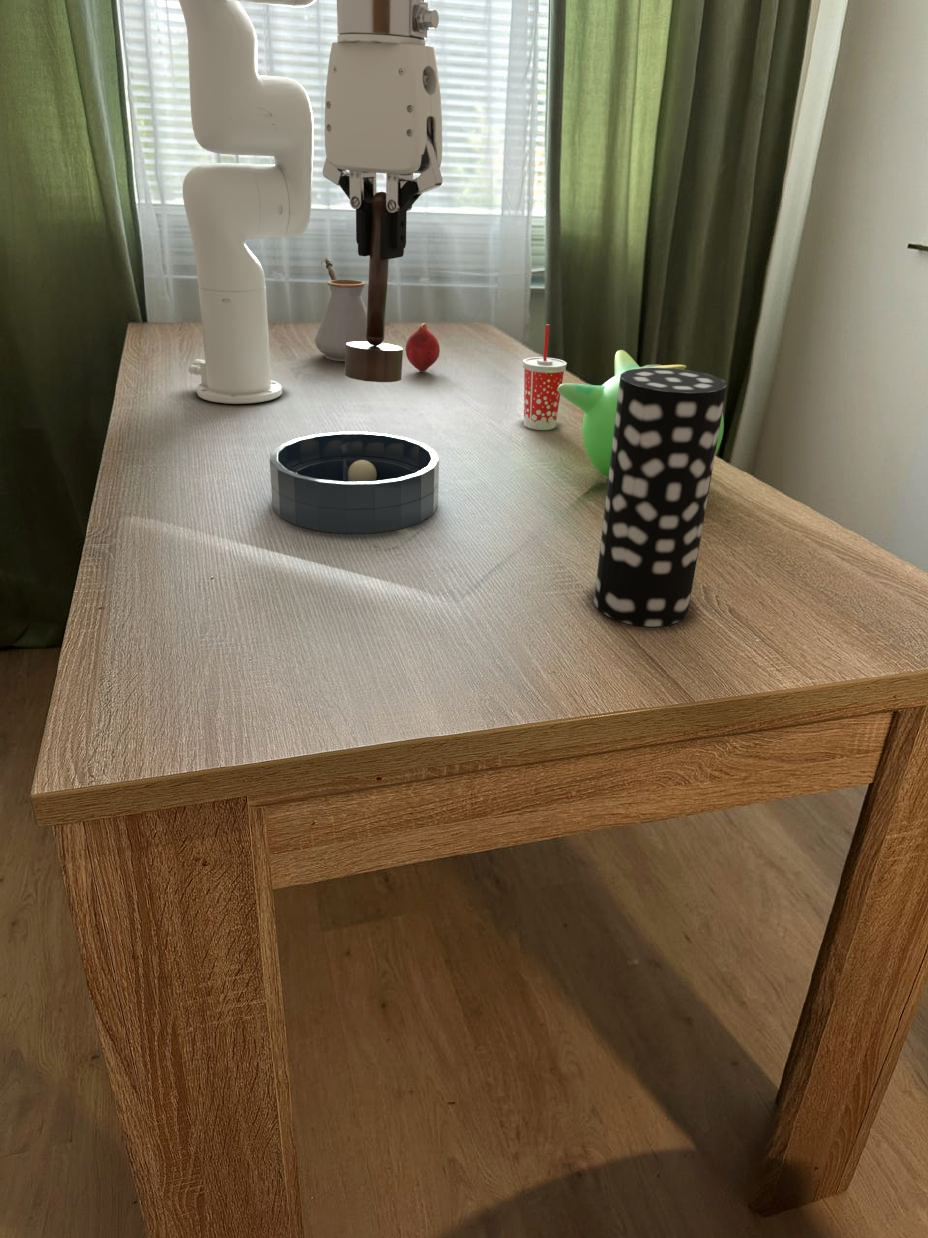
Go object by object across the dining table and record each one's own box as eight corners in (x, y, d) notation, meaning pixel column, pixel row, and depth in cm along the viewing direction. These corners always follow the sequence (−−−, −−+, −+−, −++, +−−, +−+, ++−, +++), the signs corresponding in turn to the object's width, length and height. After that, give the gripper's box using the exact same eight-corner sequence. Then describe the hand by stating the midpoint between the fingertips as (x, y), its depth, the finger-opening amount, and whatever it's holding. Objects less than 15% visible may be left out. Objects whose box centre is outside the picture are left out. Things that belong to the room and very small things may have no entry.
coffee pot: (386, 362, 163) (386, 273, 156) (322, 365, 160) (319, 273, 153) (357, 338, 181) (356, 257, 174) (299, 340, 177) (295, 257, 170)
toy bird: (681, 520, 101) (702, 386, 94) (544, 487, 108) (555, 361, 102) (731, 477, 114) (753, 357, 108) (607, 451, 122) (620, 337, 115)
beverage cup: (569, 426, 132) (579, 325, 126) (543, 434, 128) (551, 330, 122) (536, 416, 136) (544, 318, 129) (509, 424, 132) (516, 323, 125)
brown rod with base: (334, 376, 90) (341, 186, 83) (360, 369, 94) (368, 190, 88) (386, 384, 88) (397, 191, 81) (410, 377, 93) (422, 195, 86)
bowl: (238, 518, 96) (234, 463, 94) (334, 472, 110) (332, 423, 108) (382, 554, 90) (382, 496, 87) (464, 500, 104) (466, 449, 101)
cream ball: (350, 474, 105) (351, 451, 103) (378, 479, 105) (379, 456, 103) (344, 491, 103) (345, 469, 101) (372, 496, 103) (374, 474, 101)
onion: (434, 376, 156) (435, 327, 152) (401, 373, 157) (402, 325, 153) (442, 369, 161) (443, 321, 157) (410, 366, 162) (410, 319, 158)
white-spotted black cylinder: (585, 584, 85) (609, 366, 76) (672, 584, 86) (707, 368, 77) (605, 627, 78) (634, 391, 69) (700, 626, 79) (742, 393, 70)
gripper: (484, 30, 78) (473, 261, 87) (329, 29, 84) (333, 244, 93) (442, 21, 72) (435, 269, 81) (279, 20, 78) (288, 251, 87)
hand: (381, 254), depth 87 cm, fingers closed on brown rod with base
